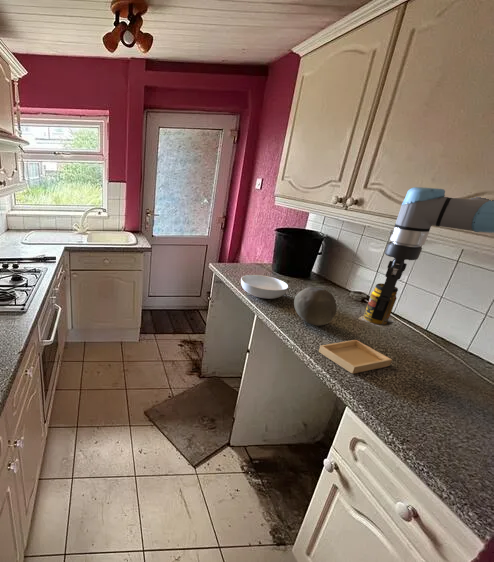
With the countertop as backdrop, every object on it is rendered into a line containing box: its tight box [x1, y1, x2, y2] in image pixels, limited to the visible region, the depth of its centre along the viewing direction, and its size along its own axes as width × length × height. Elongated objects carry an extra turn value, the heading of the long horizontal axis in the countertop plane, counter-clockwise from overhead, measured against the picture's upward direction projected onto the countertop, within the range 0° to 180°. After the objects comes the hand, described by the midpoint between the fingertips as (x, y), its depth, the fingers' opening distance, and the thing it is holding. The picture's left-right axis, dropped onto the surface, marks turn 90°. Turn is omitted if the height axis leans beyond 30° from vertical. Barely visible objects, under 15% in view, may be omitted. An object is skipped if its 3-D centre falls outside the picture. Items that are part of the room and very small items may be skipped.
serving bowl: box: [240, 274, 289, 300], centre depth 150 cm, size 21×21×7 cm
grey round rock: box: [293, 286, 338, 326], centre depth 123 cm, size 14×14×15 cm
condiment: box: [357, 282, 399, 329], centre depth 96 cm, size 7×8×12 cm
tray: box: [318, 339, 393, 374], centre depth 103 cm, size 16×12×2 cm
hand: (377, 315), depth 97 cm, fingers closed on condiment, 6 cm apart
